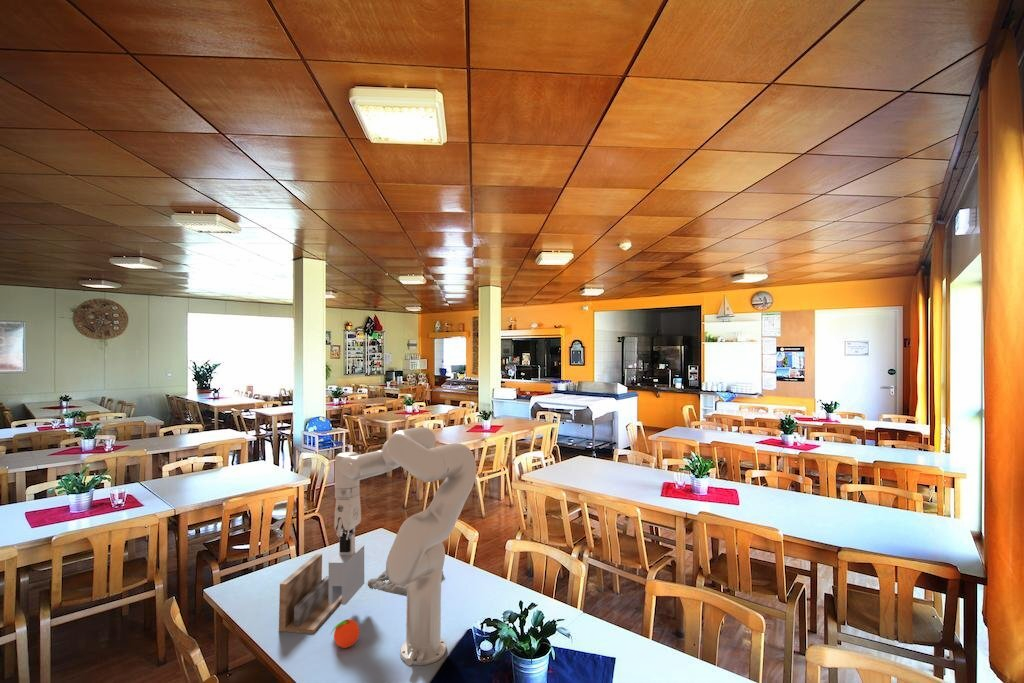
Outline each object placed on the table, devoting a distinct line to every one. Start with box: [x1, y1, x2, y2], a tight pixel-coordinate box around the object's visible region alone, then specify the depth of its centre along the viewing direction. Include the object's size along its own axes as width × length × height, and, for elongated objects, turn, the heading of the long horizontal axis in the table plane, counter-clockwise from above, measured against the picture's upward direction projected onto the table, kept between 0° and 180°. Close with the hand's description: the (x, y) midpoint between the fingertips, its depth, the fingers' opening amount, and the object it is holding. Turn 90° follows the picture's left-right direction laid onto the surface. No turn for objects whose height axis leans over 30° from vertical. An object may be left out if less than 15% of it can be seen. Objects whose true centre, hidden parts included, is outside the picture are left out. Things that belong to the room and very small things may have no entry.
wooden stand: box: [278, 553, 342, 634], centre depth 152 cm, size 22×11×14 cm, turn 175°
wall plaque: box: [367, 569, 445, 596], centre depth 173 cm, size 24×19×4 cm
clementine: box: [330, 618, 360, 649], centre depth 134 cm, size 8×7×7 cm
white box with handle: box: [328, 532, 365, 606], centre depth 150 cm, size 14×5×18 cm, turn 175°
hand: (347, 549), depth 150 cm, fingers closed on white box with handle, 2 cm apart
